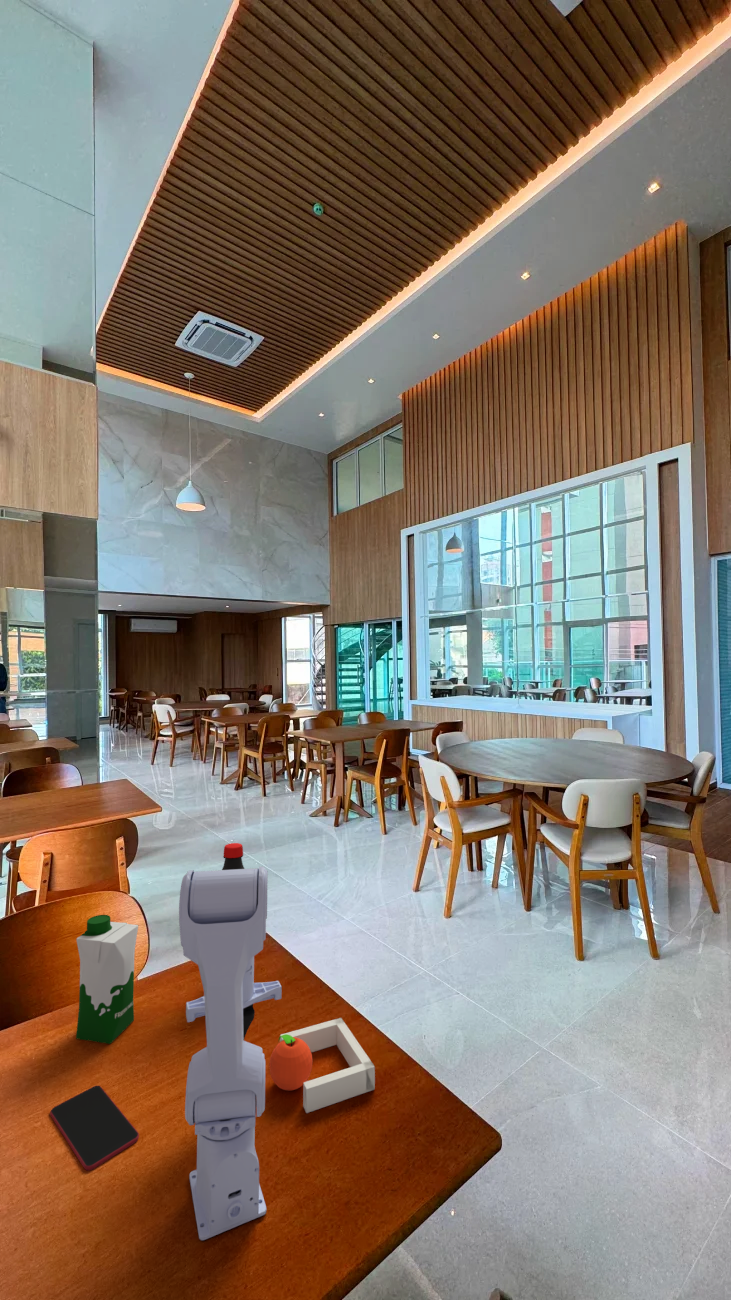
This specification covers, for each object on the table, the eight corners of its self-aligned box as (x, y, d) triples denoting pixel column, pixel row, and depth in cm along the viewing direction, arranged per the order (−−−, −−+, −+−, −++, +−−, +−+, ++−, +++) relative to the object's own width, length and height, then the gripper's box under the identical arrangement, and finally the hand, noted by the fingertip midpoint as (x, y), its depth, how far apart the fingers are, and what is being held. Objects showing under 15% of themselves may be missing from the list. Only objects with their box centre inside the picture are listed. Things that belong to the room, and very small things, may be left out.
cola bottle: (246, 1000, 112) (248, 850, 113) (205, 999, 112) (207, 850, 113) (255, 977, 120) (257, 838, 122) (217, 977, 120) (219, 838, 122)
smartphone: (98, 1083, 88) (141, 1135, 78) (98, 1089, 88) (141, 1142, 78) (48, 1109, 83) (86, 1169, 73) (48, 1115, 83) (86, 1176, 73)
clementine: (258, 1078, 90) (259, 1033, 90) (295, 1060, 94) (296, 1018, 94) (281, 1109, 84) (282, 1060, 84) (320, 1088, 88) (320, 1042, 88)
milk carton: (100, 1012, 107) (103, 908, 108) (141, 1018, 106) (144, 912, 107) (67, 1041, 99) (71, 928, 100) (112, 1048, 97) (115, 933, 98)
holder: (374, 1089, 88) (374, 1066, 88) (306, 1113, 83) (306, 1089, 83) (341, 1037, 100) (341, 1017, 100) (280, 1055, 95) (280, 1034, 96)
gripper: (273, 944, 93) (272, 1027, 92) (184, 963, 87) (182, 1052, 86) (285, 964, 86) (284, 1053, 86) (190, 986, 80) (188, 1082, 80)
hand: (234, 1054), depth 85 cm, fingers closed
